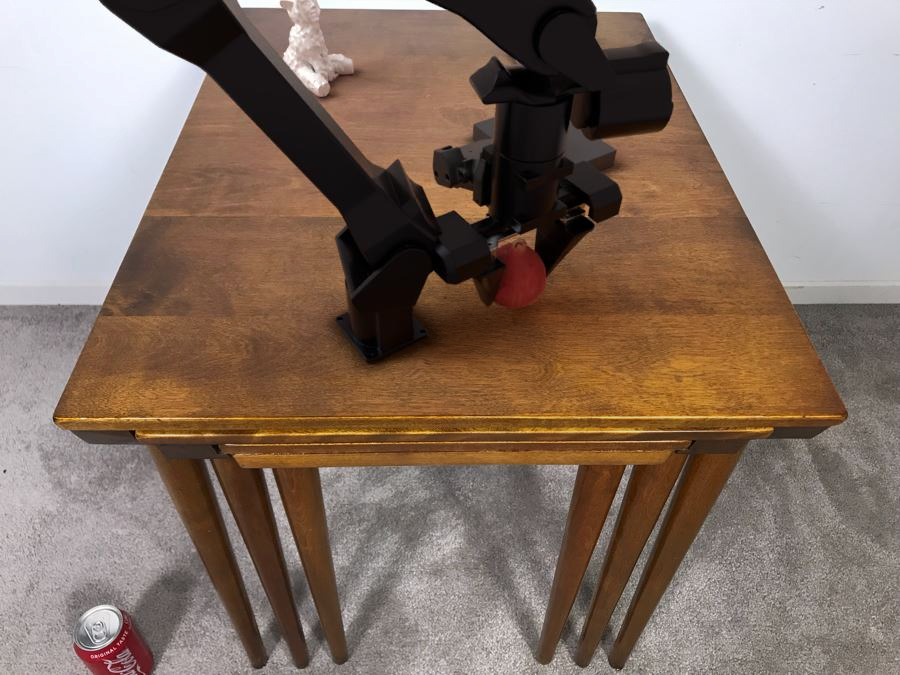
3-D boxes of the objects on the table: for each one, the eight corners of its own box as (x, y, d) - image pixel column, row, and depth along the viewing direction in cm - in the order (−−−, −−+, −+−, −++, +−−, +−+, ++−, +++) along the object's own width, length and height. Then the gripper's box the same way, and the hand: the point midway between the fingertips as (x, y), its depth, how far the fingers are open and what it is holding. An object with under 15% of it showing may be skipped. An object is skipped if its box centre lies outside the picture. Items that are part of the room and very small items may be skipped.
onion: (491, 332, 66) (497, 265, 60) (473, 291, 70) (476, 225, 64) (550, 321, 67) (561, 254, 61) (529, 281, 71) (537, 215, 65)
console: (613, 165, 86) (619, 136, 83) (536, 196, 81) (540, 166, 78) (540, 116, 94) (543, 87, 91) (466, 141, 89) (467, 112, 86)
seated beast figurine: (323, 100, 96) (313, 8, 87) (269, 87, 98) (253, -4, 90) (357, 71, 102) (351, -17, 93) (305, 59, 104) (294, -28, 96)
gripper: (554, 74, 64) (536, 216, 75) (374, 130, 57) (383, 279, 68) (643, 128, 58) (608, 274, 69) (452, 200, 50) (448, 351, 61)
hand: (512, 291), depth 67 cm, fingers closed on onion, 6 cm apart
